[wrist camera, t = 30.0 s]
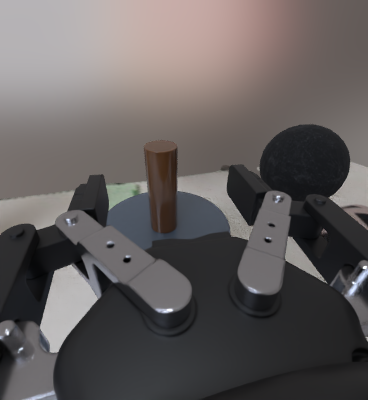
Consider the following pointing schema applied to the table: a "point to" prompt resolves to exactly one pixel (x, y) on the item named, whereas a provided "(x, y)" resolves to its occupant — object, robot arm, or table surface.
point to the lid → (165, 204)
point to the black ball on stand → (305, 162)
